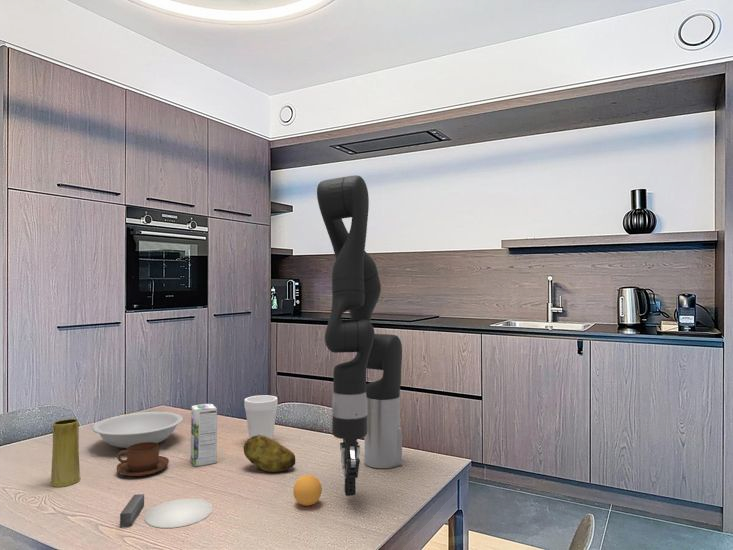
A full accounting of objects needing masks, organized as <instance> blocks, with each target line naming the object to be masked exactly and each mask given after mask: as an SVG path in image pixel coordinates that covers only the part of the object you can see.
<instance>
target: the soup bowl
mask: <svg viewBox="0 0 733 550" xmlns="http://www.w3.org/2000/svg"><path fill="white" fill-rule="evenodd" d="M183 422H184V418H183V415H181V414H178V413H175V412H171V411H170V412H169V411H142V412H132V413H126V414H121V415H116V416H111V417H108V418H104V419H102V420H99V421H98V422H96V423H95V424H93V425H92V427H91V429H92V431H93V432H94V433H96V434H98V435H99V436H100V437H101V439H102V440H103V441H104V442H106V443H107V444H109V445H111V446H113V447H115V448H121V449H127V448H128V447H129V446H131V445H134V444H138V443H144V442H154V443H158V444H159V443H161V442H163V441H164V440H166V439H167V438H168V437H170V436H171V435H172V433H174V431H175V429H176V428H177V426H178V425H181V423H183Z"/></svg>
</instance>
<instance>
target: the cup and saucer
mask: <svg viewBox="0 0 733 550" xmlns="http://www.w3.org/2000/svg"><path fill="white" fill-rule="evenodd" d="M122 454H125V455H126V459H122V458H121V455H122ZM117 461H119V462H120V463H118V464H117V465H116V468H115V469H116V471H117V473H119V474H121V475H123V476H125V477H143V476H148V475H153V474H155V473H158V472H160V471H162V470H163V469H165V468H166V467H167V466H168V465H169V463H170V459H169V458H168V457H165V456H162V455H161V456H160V444H159V443H154V442H144V443H138V444H134V445H131V446H129V447H128V448H126V450H125V449H124V450H120V451H119V452H118V454H117Z"/></svg>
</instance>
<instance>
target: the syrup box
mask: <svg viewBox="0 0 733 550" xmlns="http://www.w3.org/2000/svg"><path fill="white" fill-rule="evenodd" d="M190 415H191V416H190V417H191V419H190V462H191V463H192V465H193V467H196V468H197V467H200V466H201V467H202V466H207V465H211V464H216V463H217V459H218V458H217V457H218V455H217V453H218V451H217V447H218V446H217V445H218V441H217V440H218V439H217V438H218V434H217V433H218V408H217V407H216V406H215V405H214V404H212V403H202V404H195V405H191V413H190Z"/></svg>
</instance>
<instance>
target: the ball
mask: <svg viewBox="0 0 733 550" xmlns="http://www.w3.org/2000/svg"><path fill="white" fill-rule="evenodd" d="M322 490H323V487H322V483H321V482H320V480H319V479H318V478H317V477H316V476H314V475H312V474H304V475H302V476H300V477H298V479H297V480H296V481H295V483H294V486H293V490H292V491H293V496H294V499H295V501H296V502H297V503H299V504H300V505H302V506H306V507H307V506H311V505H314V504H316V503H317V502H318V501H319V500H320V498H321V495H322V493H323V492H322Z"/></svg>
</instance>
